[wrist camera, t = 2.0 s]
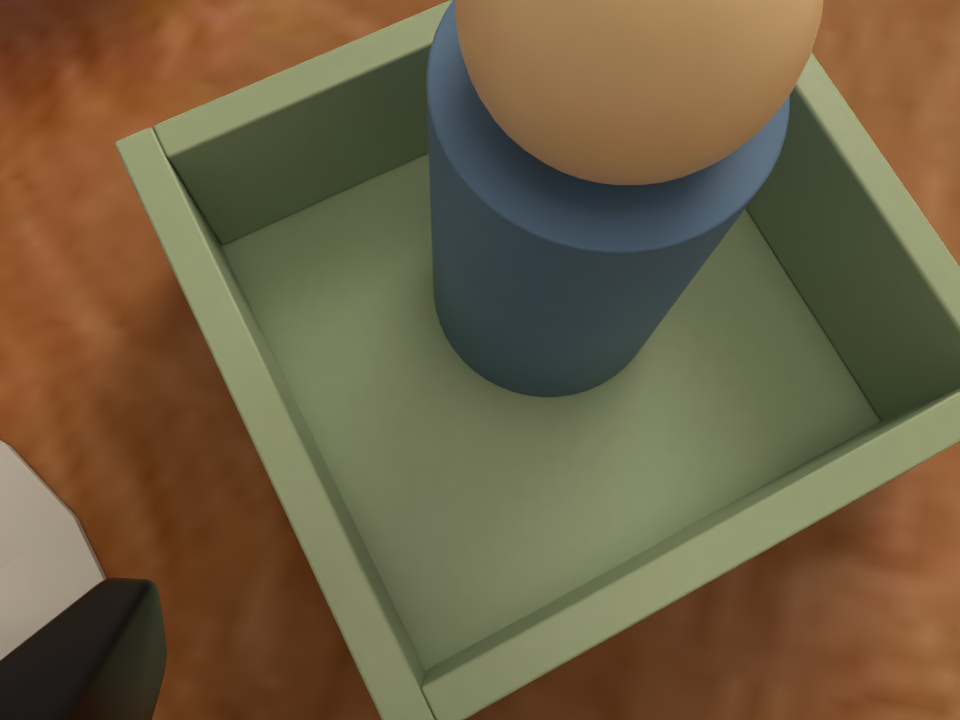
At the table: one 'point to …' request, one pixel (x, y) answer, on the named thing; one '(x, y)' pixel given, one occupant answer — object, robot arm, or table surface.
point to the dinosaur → (37, 553)
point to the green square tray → (531, 419)
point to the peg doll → (594, 168)
